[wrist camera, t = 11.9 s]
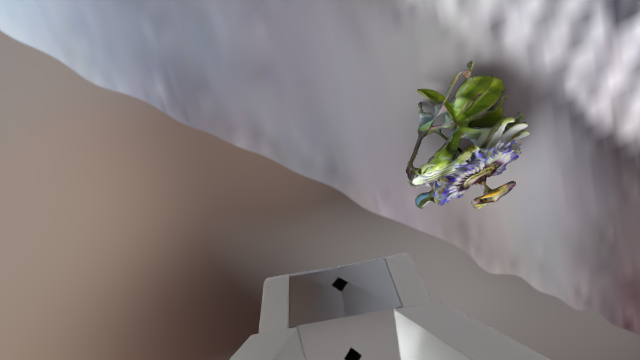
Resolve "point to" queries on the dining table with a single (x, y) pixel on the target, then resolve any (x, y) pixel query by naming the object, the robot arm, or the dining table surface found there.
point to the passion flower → (489, 144)
